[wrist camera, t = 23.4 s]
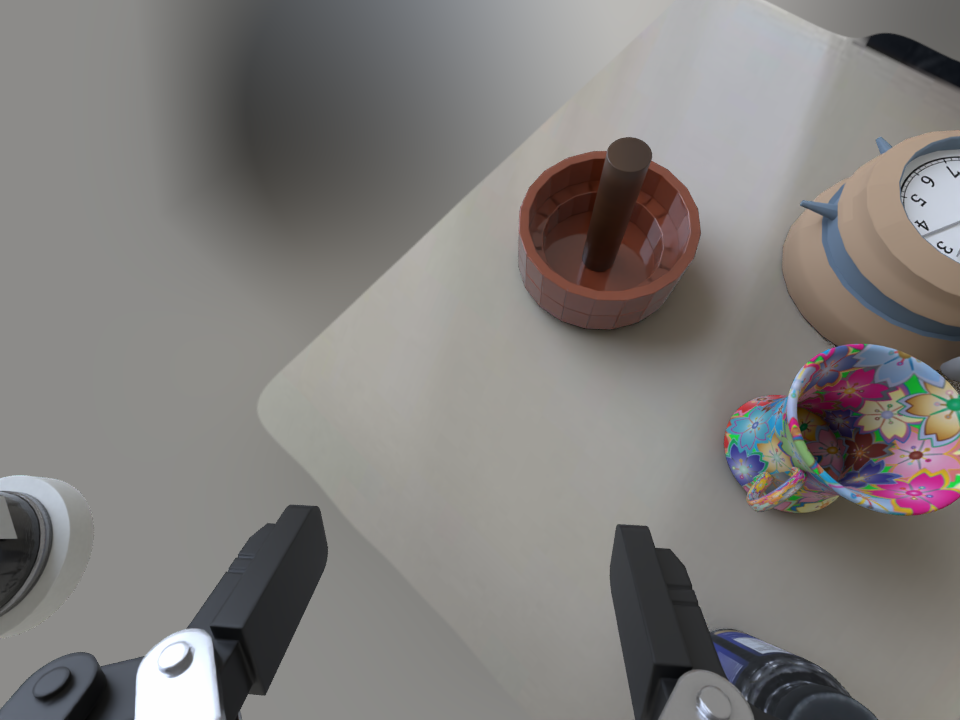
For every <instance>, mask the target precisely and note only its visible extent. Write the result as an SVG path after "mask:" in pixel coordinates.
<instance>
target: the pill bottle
mask: <svg viewBox="0 0 960 720" xmlns="http://www.w3.org/2000/svg"><path fill="white" fill-rule="evenodd" d="M710 635H711V638H712V641H713V644H714V646H715V649H716V652H717V654H718V657H719V660H720V662H721V665H722V668H723V670H724V672H725V675H726V676H727V678H728V680H729V681H730V682H731V683H732V684H733V685H734V686H735V687H736V688H738V690H739V691H740V692H741V693H742V694H743V696H744V697H745V699H746V700H747V701H748V702H749V703H751V704H752V705H754V706H755V707H757V708H758V709H760V710H761V711H763V712H765V713H767V714H770V715H772V716H774V717H777V718H779V719H782V720H878V719H877V718H876V717H875V715H874V714H873V713H872V712H871V711H870V710H868V709H867V708H866V707H865V706H863V705H862V704H860V703H859V702H858V701H856V700H855V699H853V698H852V697H851V696H850V694H849V693H848V692H847V691H846V690H845V688H844V687H843V686H842V685H841V684H840V683H839V682H838V681H837V679H835V678H834V677H833V676H832V675H831V674H830V673H828V672H827V671H826V670H824V669H822V668H821V667H819V666H818V665H816V664H814V663H812V662H810V661H808V660H806V659H804V658H801V657H799V656H796V655H794V654H792V653H789V652H787V651H785V650H782V649H780V648H778V647H776V646H773V645H771V644H769V643H766V642H764V641H762V640H760V639H757V638H755V637H753V636H750V635H748V634H745V633H743V632H740V631H738V630H734V629H720V630H715V631H713V632H710Z"/></svg>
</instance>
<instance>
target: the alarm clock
mask: <svg viewBox="0 0 960 720" xmlns="http://www.w3.org/2000/svg"><path fill="white" fill-rule="evenodd" d="M876 142H877V145H878V148H879V151H880V153H881V155H879V156H877V157H876V158H874V159H872V160H871V161H869V162H868V163H866V164H864V165H863V166H861V167H859V168H858V169H857V171H856V172H855V173H854V174H853V175H852V176H851V177H850V178H846V179H844V180H842V181H840V182H839V183H837V184H835V185H834V186H832V187H831V188H829V189H827V190H826V191H824V192H822V193H821V194H819V195H818V197H817V198H816V199H815V200H814V201H813V202H812V201H804V200H803V201H802V202H801V204H800V206H803V207H805V208H807V209H806V210H805V211H804V212H803V213H802V214H801V216H800V217H799V218H798V219H797V220H796V221H795V222H794V224H793V225H792V226H791V228H790V230H789V233H788V235H787V238H786V240H785V243H784V245H783V259H782V271H783V274H784V278H785V282H786V285H787V289H788V292H789V294H790V296H791V297H792V299H793V301H794V302H795V304H796V306H797V307H798V309H799V311H800V312H801V314H802V315H803V317H804V318H805V319H806V320H807V321H808V322H809V323H810V324H811V325H812V326H813V327H814V328H815V329H816V330H817V331H818V332H819V333H820V334H821V335H822V336H823V337H825V338H826V339H828V340H829V341H831V342H832V343H834V344H835V345H837V346H842V345H848V344H873V345H879V346H885V347H889V348H892V349H895V350H898V351H901V352H904V353H906V354H908V355H911V356H913V357H915V358H917V359H918V360H920V361H922V362H923V363H925V364H927V365H928V366H930V367H931V368H932V369H934V370H941V371H942V373H943V374H944V375H945V376H946V377H947V378H949V379H951V380H954V381H958V382H960V130H953V131H939V132H929V133H925V134H922V135H919V136H915V137H912V138H909V139H906V140H904V141H902V142H901V143H899V144H897V145H896V146H894V147H892V146H891V145H890V144H889V143H887V142H886V141H885V140H884V139H883V138H882V137H879V138H877V139H876Z"/></svg>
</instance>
